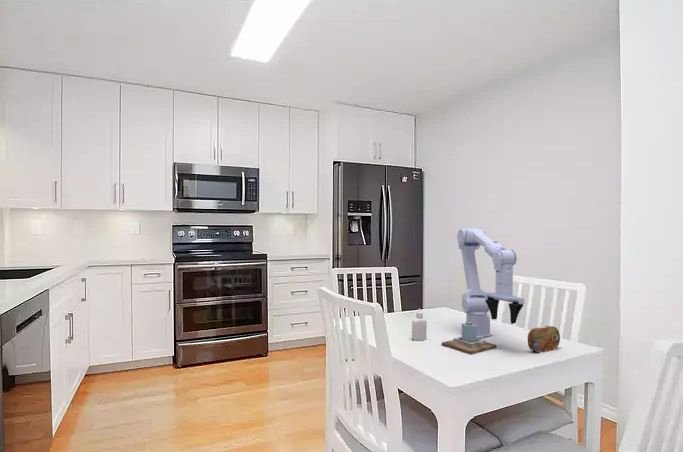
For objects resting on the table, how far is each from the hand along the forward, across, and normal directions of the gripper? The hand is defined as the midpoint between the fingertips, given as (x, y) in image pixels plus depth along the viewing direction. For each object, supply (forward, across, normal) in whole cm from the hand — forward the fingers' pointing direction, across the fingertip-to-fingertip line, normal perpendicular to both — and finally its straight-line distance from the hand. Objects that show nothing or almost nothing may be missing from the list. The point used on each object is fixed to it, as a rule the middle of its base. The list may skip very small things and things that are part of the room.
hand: (503, 321), depth 144 cm
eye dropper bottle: (+11, +26, +16) cm, 32 cm away
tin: (+11, -8, -12) cm, 18 cm away
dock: (+10, +10, +7) cm, 16 cm away
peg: (+9, +10, +7) cm, 15 cm away
